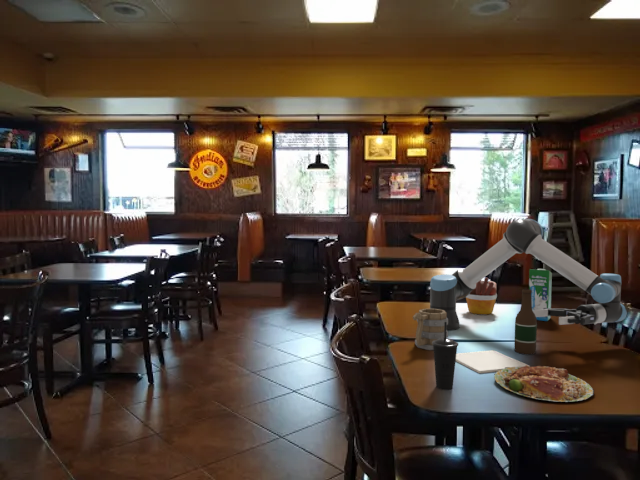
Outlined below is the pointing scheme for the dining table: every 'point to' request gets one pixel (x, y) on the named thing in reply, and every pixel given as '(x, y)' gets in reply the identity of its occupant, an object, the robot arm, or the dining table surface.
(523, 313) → the beer bottle
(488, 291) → the bucket of meat
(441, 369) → the drinking cup
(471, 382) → the dining table surface
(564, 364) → the dining table surface
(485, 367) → the square board
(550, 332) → the dining table surface
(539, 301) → the milk carton
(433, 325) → the tankard
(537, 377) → the rice dish
